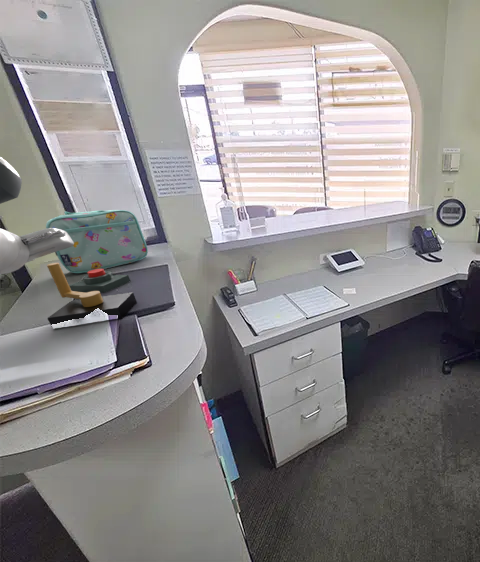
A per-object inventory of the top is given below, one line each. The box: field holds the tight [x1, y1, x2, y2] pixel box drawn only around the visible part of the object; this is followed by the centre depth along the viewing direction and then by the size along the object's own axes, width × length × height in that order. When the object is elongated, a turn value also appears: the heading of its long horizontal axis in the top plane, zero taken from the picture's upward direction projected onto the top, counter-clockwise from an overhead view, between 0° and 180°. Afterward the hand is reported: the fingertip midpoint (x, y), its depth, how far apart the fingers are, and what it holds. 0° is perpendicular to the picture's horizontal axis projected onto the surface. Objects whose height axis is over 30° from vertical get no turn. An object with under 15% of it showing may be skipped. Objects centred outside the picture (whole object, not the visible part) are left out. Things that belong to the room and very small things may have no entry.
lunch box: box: [45, 209, 149, 274], centre depth 114 cm, size 27×10×21 cm, turn 136°
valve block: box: [47, 291, 138, 326], centre depth 79 cm, size 14×10×3 cm
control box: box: [69, 270, 131, 293], centre depth 98 cm, size 12×9×4 cm
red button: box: [86, 269, 106, 278], centre depth 97 cm, size 4×4×2 cm
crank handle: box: [46, 262, 103, 307], centre depth 78 cm, size 12×4×10 cm, turn 73°
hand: (24, 259), depth 71 cm, fingers closed
